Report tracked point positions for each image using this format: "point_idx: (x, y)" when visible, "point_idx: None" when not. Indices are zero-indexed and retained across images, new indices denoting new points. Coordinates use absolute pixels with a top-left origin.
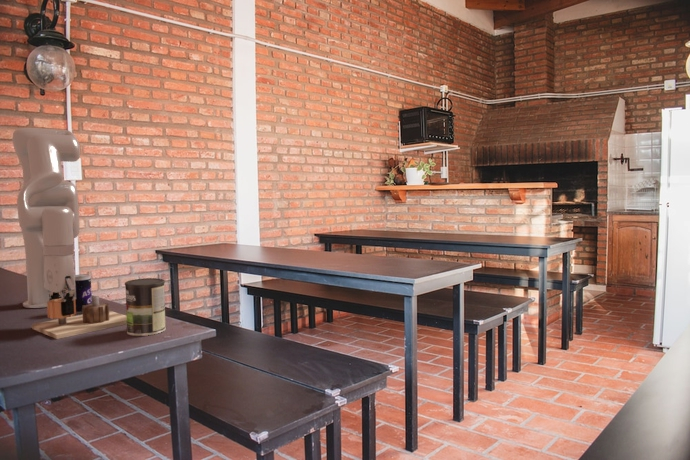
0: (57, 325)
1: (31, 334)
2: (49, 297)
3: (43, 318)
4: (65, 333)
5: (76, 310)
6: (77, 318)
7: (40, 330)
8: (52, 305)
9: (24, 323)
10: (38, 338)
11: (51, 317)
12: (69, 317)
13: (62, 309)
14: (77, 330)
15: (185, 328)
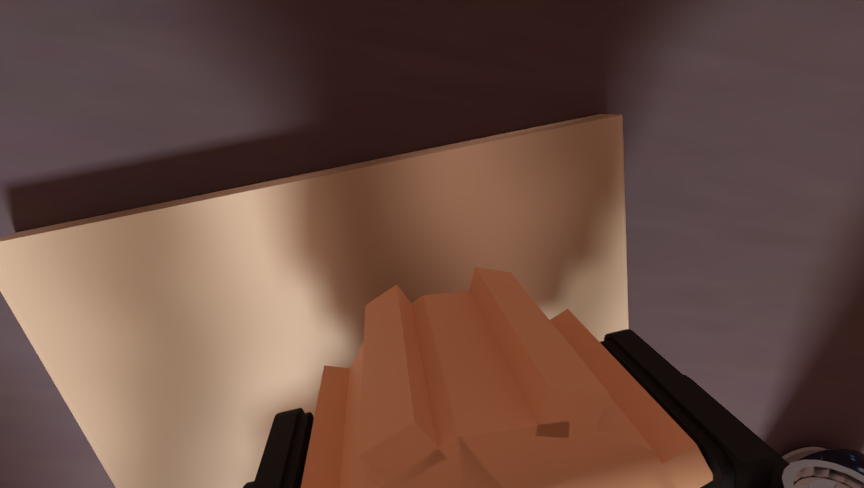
0: None
1: (368, 71)
2: (816, 465)
3: (860, 253)
4: (24, 321)
5: None
6: None
7: (391, 158)
8: (363, 421)
9: (834, 97)
10: (153, 98)
11: (386, 300)
12: None
13: (260, 479)
14: (74, 416)
15: None
